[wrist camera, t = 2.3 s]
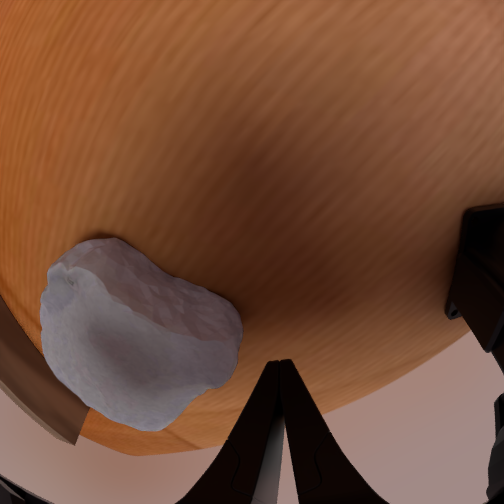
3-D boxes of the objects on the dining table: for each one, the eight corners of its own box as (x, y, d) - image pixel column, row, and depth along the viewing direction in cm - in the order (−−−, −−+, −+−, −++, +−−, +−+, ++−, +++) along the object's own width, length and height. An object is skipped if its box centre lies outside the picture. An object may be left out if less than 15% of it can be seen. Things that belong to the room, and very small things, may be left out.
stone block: (68, 322, 17) (170, 403, 18) (30, 357, 13) (145, 450, 13) (110, 191, 13) (266, 311, 13) (39, 214, 8) (245, 383, 9)
